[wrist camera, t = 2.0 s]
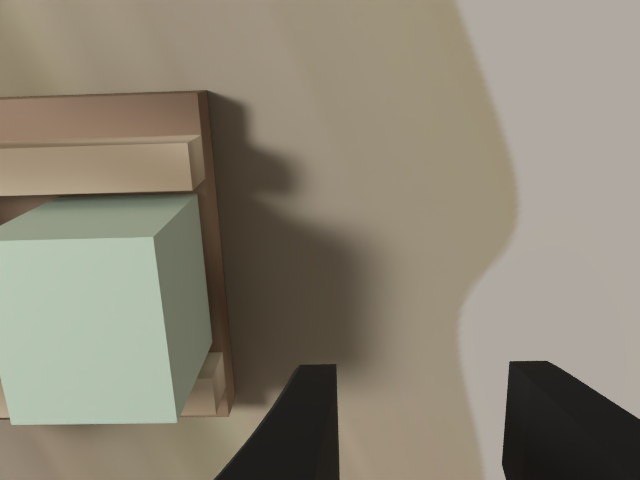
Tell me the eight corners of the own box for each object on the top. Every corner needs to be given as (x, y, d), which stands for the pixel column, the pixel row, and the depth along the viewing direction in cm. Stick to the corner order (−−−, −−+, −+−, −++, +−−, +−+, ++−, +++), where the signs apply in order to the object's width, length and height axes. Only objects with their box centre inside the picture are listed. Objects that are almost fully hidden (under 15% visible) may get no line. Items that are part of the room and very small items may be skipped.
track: (235, 395, 19) (200, 511, 14) (-67, 399, 20) (-202, 514, 15) (206, 90, 16) (150, 105, 11) (-150, 102, 17) (-355, 122, 12)
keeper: (212, 342, 17) (177, 422, 14) (82, 344, 17) (11, 425, 14) (197, 193, 16) (153, 236, 12) (55, 197, 16) (-32, 241, 12)
